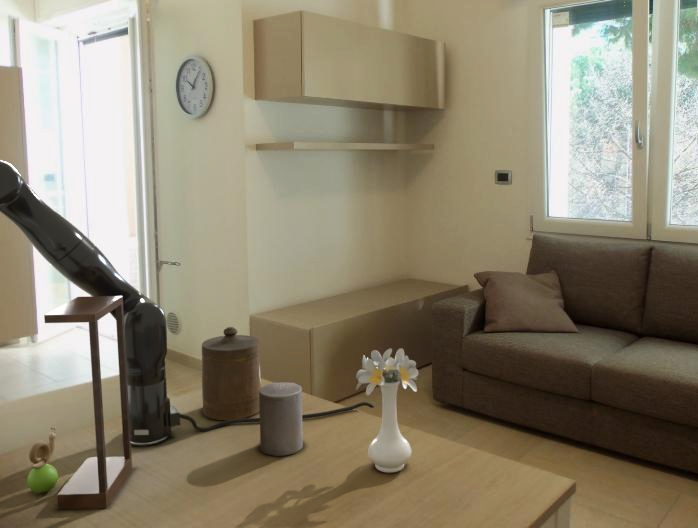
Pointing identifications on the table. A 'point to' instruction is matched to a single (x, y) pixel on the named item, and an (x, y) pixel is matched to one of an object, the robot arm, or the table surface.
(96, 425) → the shelf unit
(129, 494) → the table surface
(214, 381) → the wooden container
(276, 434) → the pillar candle
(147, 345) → the robot arm
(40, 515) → the table surface
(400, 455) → the flower vase
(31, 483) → the snail figurine
